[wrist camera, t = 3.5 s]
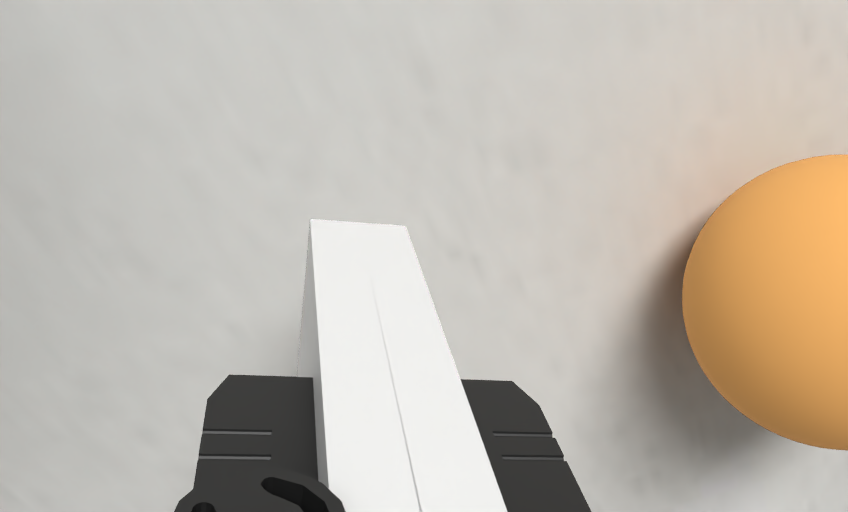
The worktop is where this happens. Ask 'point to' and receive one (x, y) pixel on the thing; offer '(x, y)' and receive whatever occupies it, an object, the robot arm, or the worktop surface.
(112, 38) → the worktop surface
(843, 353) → the ball
